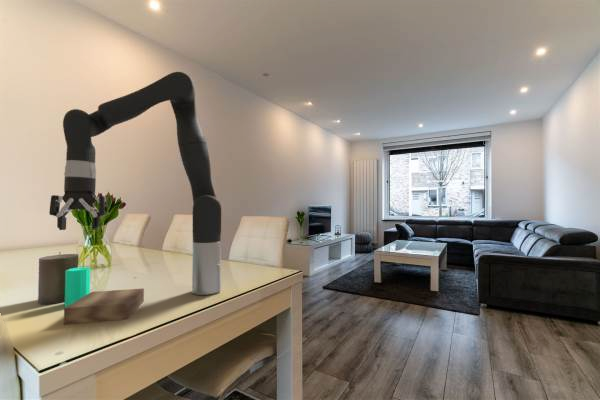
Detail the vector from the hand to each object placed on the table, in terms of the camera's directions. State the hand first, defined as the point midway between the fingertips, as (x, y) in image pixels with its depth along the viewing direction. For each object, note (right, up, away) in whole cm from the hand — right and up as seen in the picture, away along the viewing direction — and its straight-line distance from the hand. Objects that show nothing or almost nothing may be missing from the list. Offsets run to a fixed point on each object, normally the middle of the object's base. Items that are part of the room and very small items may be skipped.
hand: (78, 229), depth 84 cm
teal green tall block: (0, -23, -1) cm, 23 cm away
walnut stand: (+14, -22, -7) cm, 27 cm away
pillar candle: (-9, -23, +3) cm, 25 cm away
